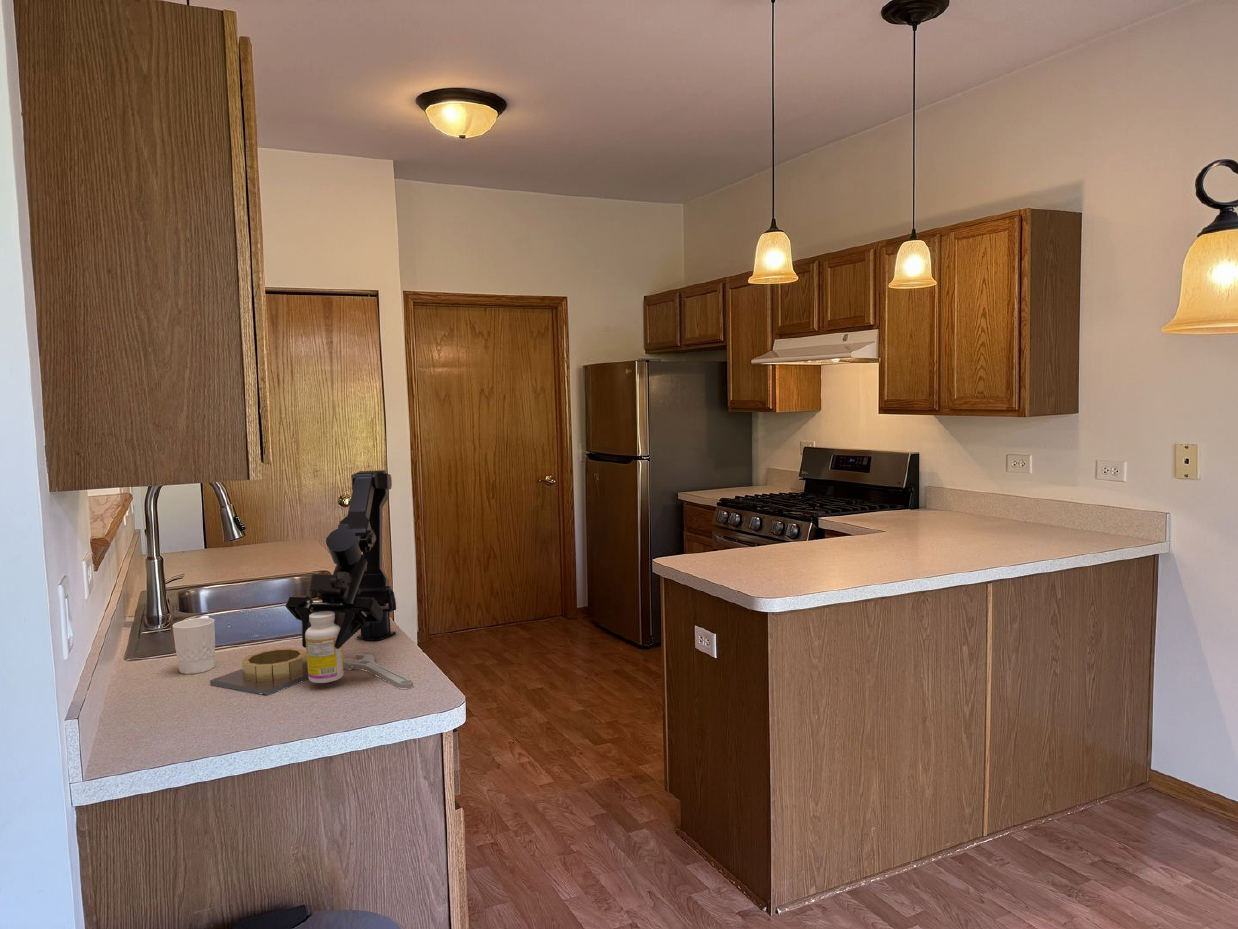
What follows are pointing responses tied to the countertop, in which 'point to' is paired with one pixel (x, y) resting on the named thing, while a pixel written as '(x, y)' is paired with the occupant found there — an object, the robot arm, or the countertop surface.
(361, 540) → the robot arm
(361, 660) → the adjustable wrench
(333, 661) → the supplement bottle
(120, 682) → the countertop surface
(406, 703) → the countertop surface
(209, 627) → the white cup
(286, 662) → the ring collar
